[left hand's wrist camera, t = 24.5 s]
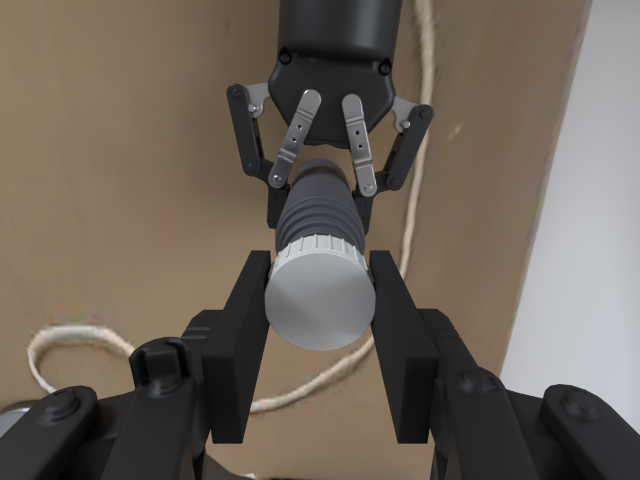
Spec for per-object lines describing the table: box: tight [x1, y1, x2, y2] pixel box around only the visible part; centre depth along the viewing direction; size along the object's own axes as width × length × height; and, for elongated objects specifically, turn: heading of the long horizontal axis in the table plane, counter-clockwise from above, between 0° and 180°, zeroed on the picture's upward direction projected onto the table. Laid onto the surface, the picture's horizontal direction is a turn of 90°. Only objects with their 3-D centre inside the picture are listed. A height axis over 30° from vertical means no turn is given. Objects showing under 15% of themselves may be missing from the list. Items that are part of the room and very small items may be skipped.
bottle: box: [275, 159, 365, 257], centre depth 23 cm, size 5×5×20 cm
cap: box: [265, 234, 376, 351], centre depth 14 cm, size 4×4×2 cm
